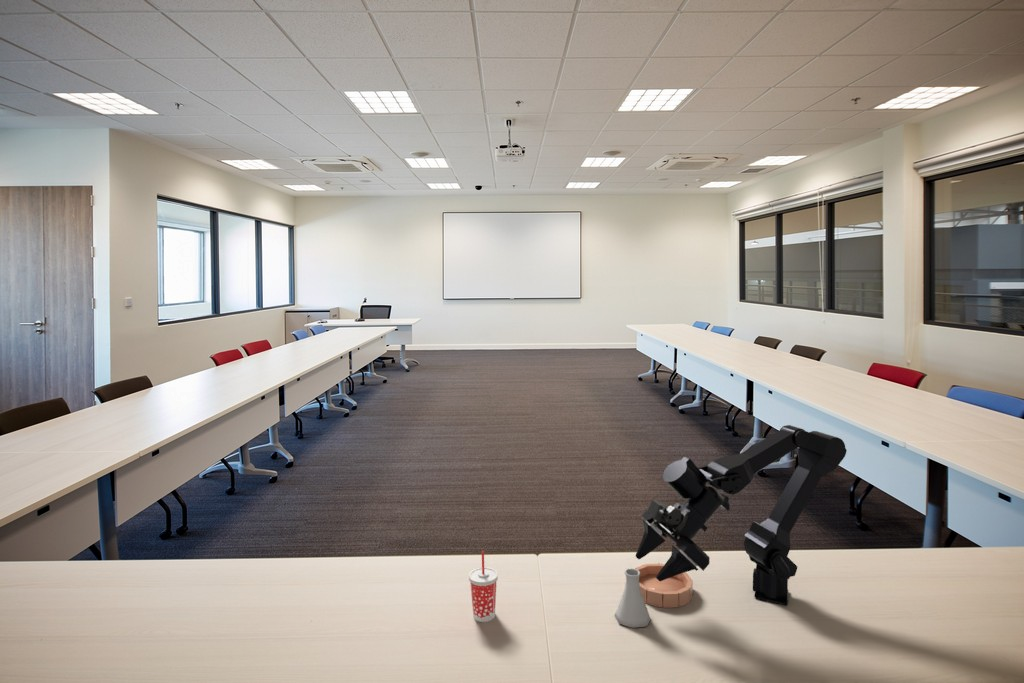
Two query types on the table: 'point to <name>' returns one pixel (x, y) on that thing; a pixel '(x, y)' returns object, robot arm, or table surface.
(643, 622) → the flask
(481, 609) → the beverage cup
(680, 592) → the bowl
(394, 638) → the table surface
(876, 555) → the table surface
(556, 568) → the table surface
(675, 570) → the robot arm
